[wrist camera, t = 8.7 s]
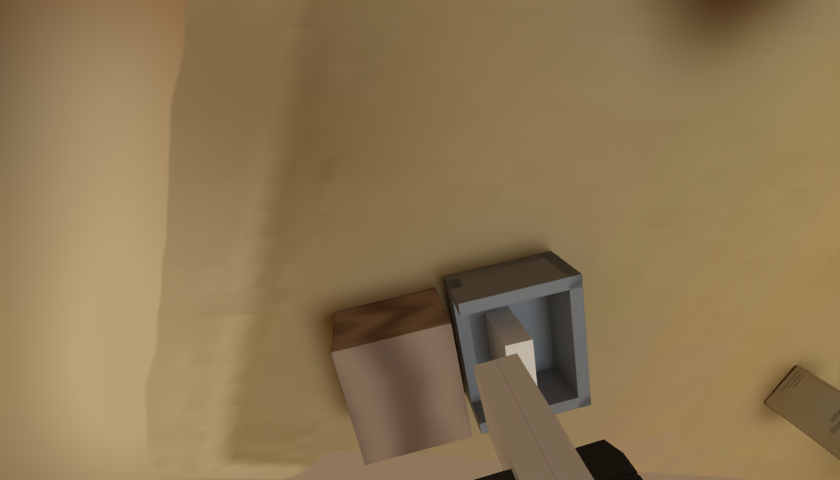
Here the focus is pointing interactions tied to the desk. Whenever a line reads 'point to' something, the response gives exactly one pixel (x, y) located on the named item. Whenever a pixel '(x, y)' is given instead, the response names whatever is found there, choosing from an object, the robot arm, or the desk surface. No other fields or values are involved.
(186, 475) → the desk surface
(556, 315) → the box
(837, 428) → the skincare box
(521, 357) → the cream tile
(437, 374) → the brown block
